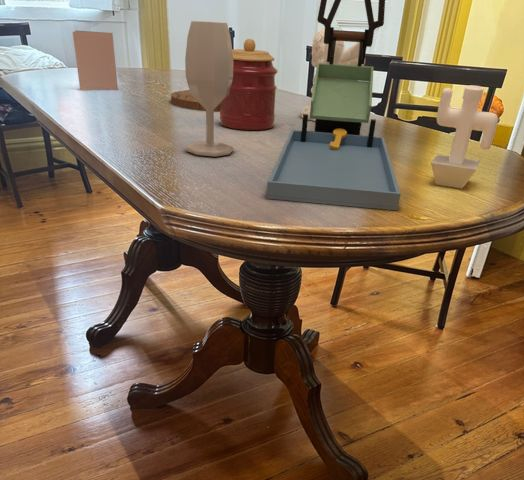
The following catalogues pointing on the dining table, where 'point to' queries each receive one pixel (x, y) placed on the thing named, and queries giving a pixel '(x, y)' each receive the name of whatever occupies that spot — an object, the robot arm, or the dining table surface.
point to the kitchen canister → (250, 90)
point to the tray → (335, 172)
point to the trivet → (188, 101)
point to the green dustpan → (343, 86)
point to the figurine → (462, 136)
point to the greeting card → (95, 60)
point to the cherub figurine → (339, 58)
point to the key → (337, 138)
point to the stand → (331, 125)
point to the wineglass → (209, 77)
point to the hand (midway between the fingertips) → (345, 62)
